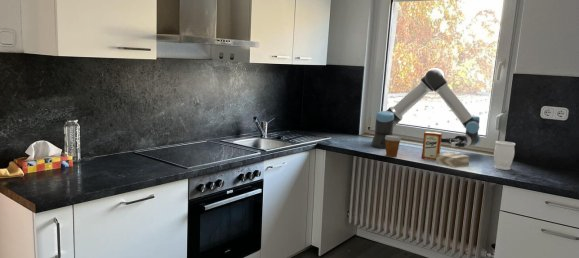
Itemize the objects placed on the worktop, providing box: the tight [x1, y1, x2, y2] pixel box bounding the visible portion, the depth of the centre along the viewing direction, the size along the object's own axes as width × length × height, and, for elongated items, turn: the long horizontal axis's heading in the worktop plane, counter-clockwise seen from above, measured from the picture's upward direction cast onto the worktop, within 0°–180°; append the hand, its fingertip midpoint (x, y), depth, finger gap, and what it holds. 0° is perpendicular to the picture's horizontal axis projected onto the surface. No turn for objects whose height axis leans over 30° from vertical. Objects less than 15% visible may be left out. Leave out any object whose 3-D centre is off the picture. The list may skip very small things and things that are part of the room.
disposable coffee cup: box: [385, 134, 401, 158], centre depth 273 cm, size 10×10×12 cm
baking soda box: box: [421, 131, 443, 161], centre depth 271 cm, size 10×6×16 cm
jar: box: [493, 140, 516, 171], centre depth 253 cm, size 11×10×15 cm
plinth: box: [435, 151, 471, 168], centre depth 260 cm, size 12×14×5 cm
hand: (441, 142), depth 276 cm, fingers open, 13 cm apart
